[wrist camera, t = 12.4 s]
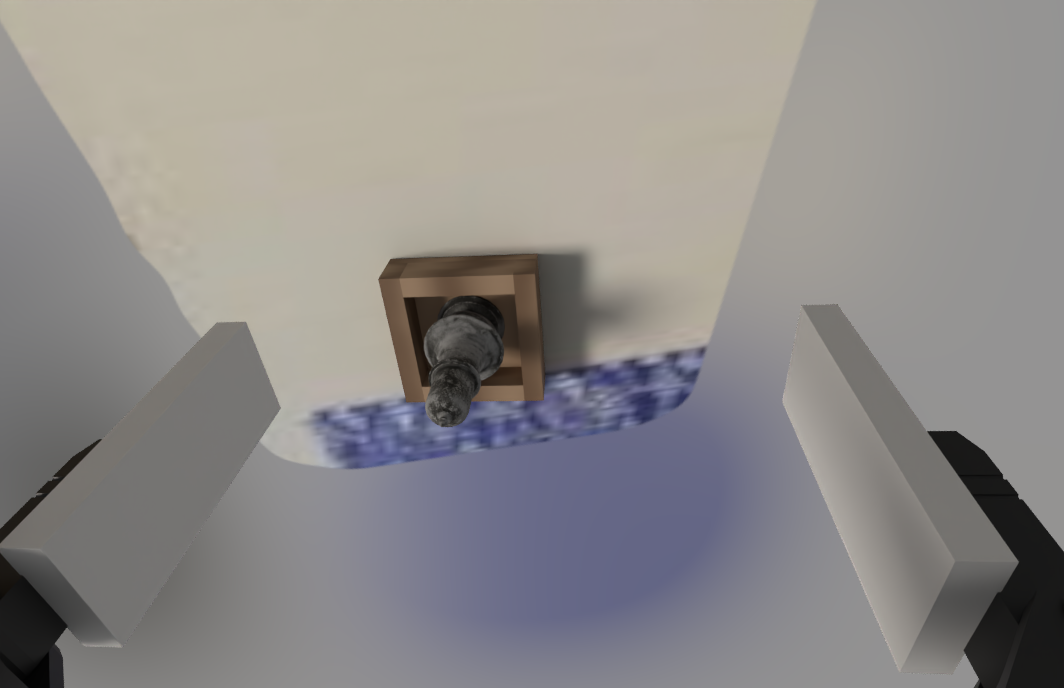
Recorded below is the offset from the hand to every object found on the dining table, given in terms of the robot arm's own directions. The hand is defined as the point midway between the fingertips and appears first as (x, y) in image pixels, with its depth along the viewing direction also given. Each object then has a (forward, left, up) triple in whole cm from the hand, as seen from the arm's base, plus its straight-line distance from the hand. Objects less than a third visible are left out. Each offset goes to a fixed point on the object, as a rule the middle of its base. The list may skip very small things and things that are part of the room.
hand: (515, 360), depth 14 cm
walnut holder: (+7, +15, -28) cm, 33 cm away
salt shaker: (+7, +15, -27) cm, 32 cm away
